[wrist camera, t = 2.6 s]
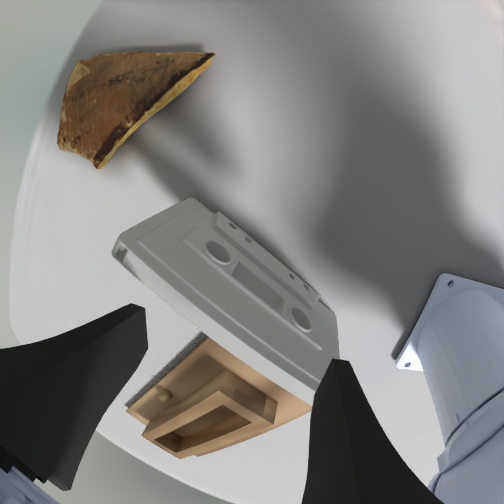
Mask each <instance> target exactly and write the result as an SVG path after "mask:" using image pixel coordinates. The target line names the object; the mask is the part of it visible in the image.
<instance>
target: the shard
mask: <svg viewBox="0 0 504 504" xmlns="http://www.w3.org/2000/svg"><path fill="white" fill-rule="evenodd" d="M214 56H215V53H204V52H203V53H196V52H176V53H151V52H150V53H148V52H141V51H139V52H128V53H124V52H119V53H113V54H103V55H99V56H94V57H92V58H91V59H88V60H79V61H78V62H77V63H76V65H75V67H74V69H73V72H72V74H71V76H70V79H69V81H68V83H67V85H66V90H65V94H64V98H63V107H62V112H61V119H60V127H59V132H58V141H57V144H58V148H59V149H60V150H63V151H68V152H72V153H76V154H79V155H81V156H82V157H84V158H86V159H87V160H90V161H91V162H92V163H93V165H94V166H95V167H96V169H102V168H103V166H105V165H106V164H107V163H108V162H109V160H110V158H111V157H112V155H113V154H114V152H115V151H116V150H117V149H118V147H119V146H120V145H122V144H123V143H124V142H125V141H126V139H127V138H128V137H129V136H131V135H132V133H133V132H134V131H135V130H136V129H137V128H138V127H139V126H140V125H141V124H142V123H144V122H145V121H146V120H148V119H149V118H151V117H152V116H153V115H154V114H155V113H157V112H158V111H159V110H161V109H162V108H163V107H165V106H166V105H167V104H168V103H169V102H171V101H172V100H173V99H174V98H175V97H177V96H178V95H179V94H181V93H182V92H183V91H184V90H185V89H186V88H187V87H188V86H189V85H191V84H192V83H193V82H194V81H195V79H196V77H197V76H198V75H199V74H200V73H202V72H203V71H204V70H205V69H206V68H207V67H208V66H209V65H210V64H211V62H212V61H213V60H212V58H214Z"/></svg>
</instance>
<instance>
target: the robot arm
mask: <svg viewBox="0 0 504 504" xmlns="http://www.w3.org/2000/svg"><path fill="white" fill-rule="evenodd" d="M451 280H452V282H451V284H449V285H448V283H449V281H451ZM147 350H148V340H147V328H146V314H145V308H143V307H141V306H138V305H135V304H132V303H131V304H129V305H126V306H124V307H122V308H119V309H117V310H115V311H113V312H111V313H109V314H106V315H104V316H102V317H100V318H98V319H96V320H93V321H91V322H89V323H87V324H85V325H82V326H80V327H77V328H75V329H73V330H70V331H68V332H65V333H63V334H60V335H57V336H55V337H52V338H49V339H45V340H42V341H38V342H35V343H31V344H26V345H21V346H16V347H11V348H4V349H0V504H34V503H35V504H60V503H59V502H57V501H56V500H55V499H53V498H52V497H51V496H49V495H48V494H47V493H45V492H44V491H43V490H42V489H40V488H39V487H38V486H37V485H35V484H34V483H33V482H34V480H35V479H36V478H37V479H38V480H40V481H41V482H42V483H45V482H46V481H47V480H49V481H50V482H52V483H53V484H54V485H55V486H57V487H58V488H59V489H61V490H63V491H67V490H71V487H72V483H73V481H74V477H75V475H76V472H77V469H78V466H79V464H80V461H81V459H82V456H83V454H84V452H85V449H86V447H87V445H88V443H89V441H90V439H91V437H92V435H93V433H94V431H95V429H96V427H97V426H98V424H99V422H100V420H101V418H102V416H103V415H104V413H105V412H106V410H107V409H108V407H109V406H110V405H111V403H112V402H113V401H114V399H115V398H116V397H117V395H118V394H119V392H120V391H121V390H122V388H123V387H124V386H125V384H126V383H127V382H128V380H129V379H130V378H131V376H132V375H133V374H134V372H135V371H136V369H137V368H138V366H139V364H140V363H141V361H142V359H143V357H144V355H145V353H146V351H147ZM408 362H409V363H408ZM406 363H407V364H406ZM395 364H396V367H397V368H400V369H409V370H418V371H424V374H425V377H426V380H427V383H428V386H429V389H430V392H431V395H432V399H433V402H434V405H435V409H436V412H437V416H438V420H439V423H440V427H441V431H442V435H443V439H444V444H445V448H446V449H445V451H444V452H443V453H442V454H441V455H439V456H438V457H437V460H438V466H439V472H438V473H437V474H436V475H435V476H434V477H433V479H432V480H431V481H430V483H429V485H428V487H426V486H425V485H424V484H423V483H422V482H421V481H420V480H419V479H418V477H417V476H416V475H415V474H414V473H413V472H412V470H411V469H410V468H409V467H408V466H407V464H406V463H405V462H404V461H403V459H402V458H401V457H400V455H399V454H398V452H397V451H396V449H395V448H394V447H393V445H392V444H391V442H390V441H389V439H388V437H387V436H386V434H385V432H384V431H383V429H382V427H381V425H380V424H379V422H378V420H377V418H376V416H375V414H374V412H373V410H372V408H371V406H370V404H369V403H368V401H367V399H366V396H365V394H364V392H363V390H362V388H361V386H360V384H359V382H358V379H357V377H356V375H355V373H354V371H353V368H352V366H351V364H350V362H349V361H346V360H340V359H334V358H332V360H331V362H330V364H329V366H328V368H327V370H326V372H325V374H324V376H323V378H322V380H321V382H320V384H319V386H318V388H317V390H316V392H315V394H314V400H313V406H312V412H311V419H310V439H309V458H308V472H307V480H306V485H305V490H304V495H303V499H302V504H504V289H501V288H497V287H494V286H490V285H487V284H484V283H480V282H477V281H473V280H470V279H466V278H462V277H459V276H455V275H452V274H448V273H443V274H441V275H440V276H439V277H438V279H437V281H436V284H435V286H434V288H433V291H432V293H431V295H430V297H429V299H428V301H427V304H426V306H425V308H424V310H423V312H422V314H421V316H420V318H419V320H418V322H417V324H416V326H415V327H414V329H413V331H412V333H411V335H410V337H409V339H408V340H407V342H406V344H405V346H404V347H403V349H402V351H401V353H400V354H399V356H398V358H397V359H396V362H395Z"/></svg>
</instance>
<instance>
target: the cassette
mask: <svg viewBox="0 0 504 504" xmlns="http://www.w3.org/2000/svg"><path fill="white" fill-rule="evenodd" d="M112 255H113V257H114V258H115V259H116V260H117V261H118V262H120V263H121V264H122V265H123V266H124V267H125V268H126V269H127V270H128V271H129V272H131V273H132V274H133V275H134V276H135V277H136V278H137V279H138V280H140V281H141V282H142V283H143V284H144V285H145V286H146V287H148V288H149V289H150V290H151V291H152V292H153V293H155V294H156V295H157V296H158V297H159V298H161V299H162V300H163V301H164V302H165V303H167V304H168V305H169V306H170V307H171V308H173V309H174V310H175V311H176V312H178V313H179V314H180V315H181V316H183V317H184V318H185V319H186V320H188V321H189V322H190V323H192V324H193V325H194V326H195V327H197V328H198V329H199V330H201V331H202V332H203V333H204V334H206V335H207V336H208V337H210V338H211V339H212V340H214V341H215V342H217V343H218V344H219V345H221V346H222V347H223V348H225V349H226V350H227V351H229V352H230V353H232V354H233V355H234V356H236V357H237V358H239V359H240V360H242V361H243V362H244V363H246V364H247V365H249V366H250V367H252V368H253V369H255V370H256V371H258V372H259V373H261V374H262V375H264V376H265V377H267V378H268V379H270V380H271V381H273V382H274V383H276V384H277V385H279V386H280V387H282V388H284V389H285V390H287V391H288V392H290V393H292V394H293V395H295V396H296V397H298V398H300V399H301V400H303V401H305V402H306V403H308V404H310V405H311V406H313V400H314V394H315V392H316V390H317V388H318V386H319V384H320V382H321V380H322V378H323V376H324V374H325V372H326V370H327V368H328V366H329V364H330V362H331V360H332V358H334V359H340V355H339V341H338V329H337V318H336V316H335V314H334V313H333V312H332V311H330V310H329V309H328V308H327V307H326V306H325V305H323V304H322V303H321V302H320V301H319V297H320V295H319V294H318V293H317V292H316V291H315V290H313V289H312V288H311V287H310V286H309V285H307V284H306V283H305V282H304V281H303V280H302V279H300V278H299V277H298V276H297V275H296V274H294V273H293V272H292V271H291V270H290V269H288V268H287V267H286V266H285V265H284V264H282V263H281V262H280V261H279V260H278V259H276V258H275V257H274V256H273V255H272V254H270V253H269V252H268V251H267V250H266V249H264V248H263V247H262V246H261V245H260V244H258V243H257V242H256V241H255V240H254V239H252V238H251V237H250V236H249V235H248V234H246V233H245V232H244V231H243V230H242V229H240V228H239V227H238V226H237V225H236V224H234V223H233V222H232V221H231V220H230V219H228V218H227V217H226V216H225V215H223V214H222V213H221V212H220V211H218V212H217V213H213V212H211V211H210V210H209V209H208V208H206V207H205V206H204V205H203V204H202V203H200V202H199V201H198V200H197V199H195V198H193V197H189V198H187V199H185V200H183V201H181V202H179V203H177V204H175V205H173V206H171V207H169V208H167V209H165V210H163V211H162V212H160V213H158V214H156V215H154V216H152V217H150V218H148V219H146V220H144V221H143V222H141V223H139V224H137V225H135V226H133V227H132V228H130V229H128V230H126V231H124V232H123V233H121V234H120V235H119V237H118V239H117V241H116V243H115V245H114V247H113V249H112Z"/></svg>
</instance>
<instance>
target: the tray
mask: <svg viewBox="0 0 504 504" xmlns="http://www.w3.org/2000/svg"><path fill="white" fill-rule="evenodd" d="M310 411H312V406H311V405H310V404H308V403H306V402H305V401H303V400H301V399H300V398H298V397H296V396H295V395H293V394H292V393H290V392H288V391H287V390H285V389H284V388H282V387H280V386H279V385H277V384H276V383H274V382H273V381H271V380H270V379H268V378H267V377H265V376H264V375H262V374H261V373H259V372H258V371H256V370H255V369H253V368H252V367H250V366H249V365H247V364H246V363H244V362H243V361H242V360H240V359H239V358H237V357H236V356H234V355H233V354H232V353H230V352H229V351H227V350H226V349H225V348H223V347H222V346H221V345H219V344H218V343H217V342H215V341H214V340H212V339H211V338H210V337H207V338H206V339H204V340H203V341H202V342H201V343H200V344H199V345H198V346H197V347H196V348H195V349H194V350H193V351H191V352H190V353H189V354H188V355H187V356H186V357H185V358H184V359H183V360H182V361H180V362H179V363H178V364H177V365H176V366H175V367H174V368H173V369H172V370H171V371H169V372H168V373H167V374H166V375H165V376H164V377H163V378H162V379H161V380H159V381H158V382H157V383H156V384H155V385H154V386H153V387H152V388H150V389H149V390H148V391H147V392H146V393H145V394H144V395H142V396H141V397H140V398H139V399H138V400H137V401H136V402H134V403H133V404H132V405H131V406H130V407H129V408H128V409H127V410H126V412H128V413H129V414H130V415H132V416H133V417H135V418H136V419H137V420H139V421H140V422H142V423H143V424H145V425H146V426H147V427H146V428H145V430H144V432H143V434H142V435H141V436H143V437H144V438H146V439H147V440H149V441H150V442H152V443H153V444H155V445H157V446H158V447H160V448H162V449H163V450H165V451H167V452H168V453H170V454H172V455H174V456H175V457H177V458H179V459H182V458H185V457H189V456H192V455H196V456H202V455H205V454H208V453H211V452H214V451H218V450H220V449H223V448H226V447H229V446H232V445H235V444H237V443H240V442H243V441H245V440H248V439H251V438H253V437H256V436H258V435H260V434H263V433H265V432H268V431H270V430H272V429H274V428H277V427H279V426H281V425H283V424H286V423H288V422H290V421H292V420H294V419H296V418H298V417H300V416H302V415H304V414H306V413H308V412H310Z"/></svg>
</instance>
